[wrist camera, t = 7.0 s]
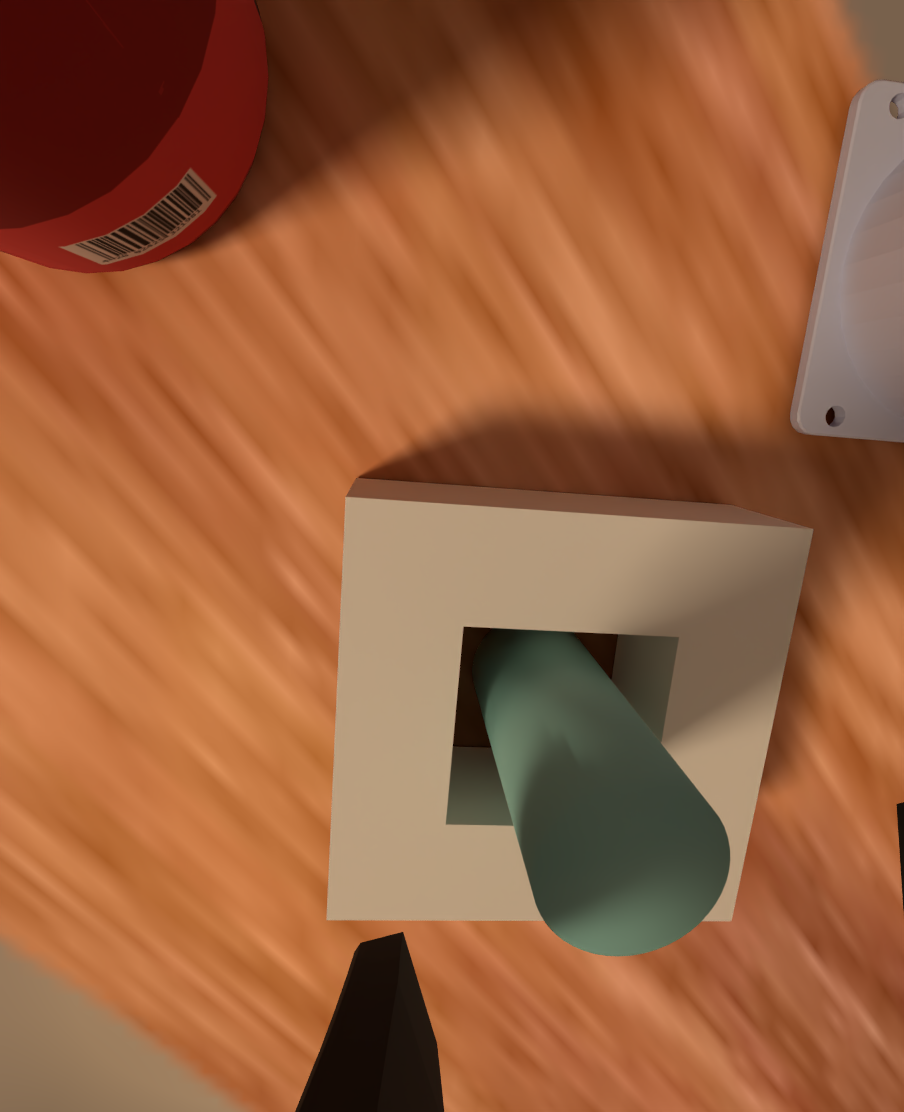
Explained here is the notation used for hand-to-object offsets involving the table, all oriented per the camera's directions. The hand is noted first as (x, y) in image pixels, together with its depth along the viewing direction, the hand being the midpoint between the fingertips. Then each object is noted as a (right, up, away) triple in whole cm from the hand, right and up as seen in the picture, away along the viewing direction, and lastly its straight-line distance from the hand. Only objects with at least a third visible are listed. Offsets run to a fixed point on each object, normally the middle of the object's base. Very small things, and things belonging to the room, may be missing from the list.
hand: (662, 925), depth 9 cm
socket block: (-1, +2, +9) cm, 9 cm away
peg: (-1, +2, +9) cm, 9 cm away
